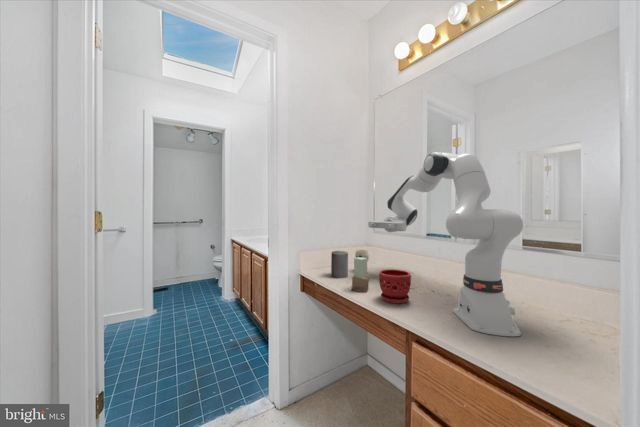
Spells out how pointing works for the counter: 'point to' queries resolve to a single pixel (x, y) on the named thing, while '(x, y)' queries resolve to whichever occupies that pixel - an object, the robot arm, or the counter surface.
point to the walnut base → (360, 284)
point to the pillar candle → (339, 264)
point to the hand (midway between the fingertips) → (379, 225)
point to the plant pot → (395, 285)
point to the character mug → (362, 254)
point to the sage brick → (360, 267)
